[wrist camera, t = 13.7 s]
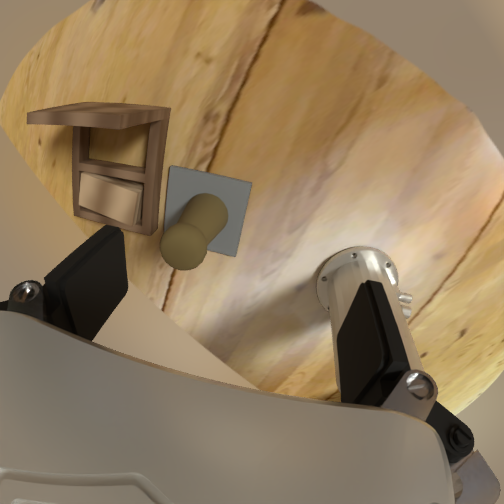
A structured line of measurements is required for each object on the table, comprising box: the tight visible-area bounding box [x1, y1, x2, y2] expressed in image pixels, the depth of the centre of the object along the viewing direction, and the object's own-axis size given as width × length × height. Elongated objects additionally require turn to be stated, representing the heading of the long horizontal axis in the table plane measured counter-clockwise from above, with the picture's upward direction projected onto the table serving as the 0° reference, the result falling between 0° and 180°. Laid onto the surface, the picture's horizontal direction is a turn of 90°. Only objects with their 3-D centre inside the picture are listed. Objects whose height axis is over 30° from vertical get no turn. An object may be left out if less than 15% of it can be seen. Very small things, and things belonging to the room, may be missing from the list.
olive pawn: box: [160, 193, 228, 270], centre depth 34 cm, size 6×6×11 cm
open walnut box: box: [27, 102, 171, 236], centre depth 32 cm, size 14×18×12 cm
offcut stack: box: [79, 171, 144, 226], centre depth 38 cm, size 10×5×4 cm, turn 70°
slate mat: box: [164, 165, 252, 257], centre depth 39 cm, size 11×11×1 cm
